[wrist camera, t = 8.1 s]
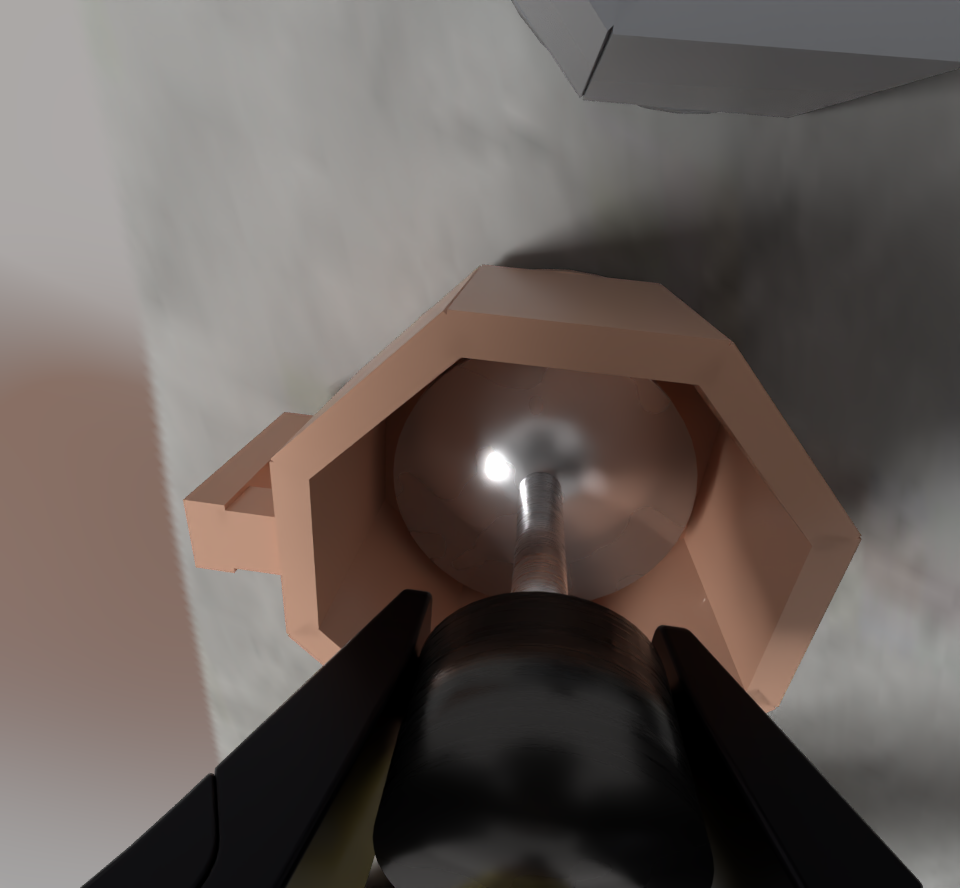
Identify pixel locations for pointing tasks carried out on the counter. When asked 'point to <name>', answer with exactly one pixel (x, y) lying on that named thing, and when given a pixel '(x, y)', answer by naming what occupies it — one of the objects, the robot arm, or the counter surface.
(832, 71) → the grey octagonal cup
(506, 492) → the black-handled metal tamper
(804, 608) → the bowl
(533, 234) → the counter surface
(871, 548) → the counter surface
